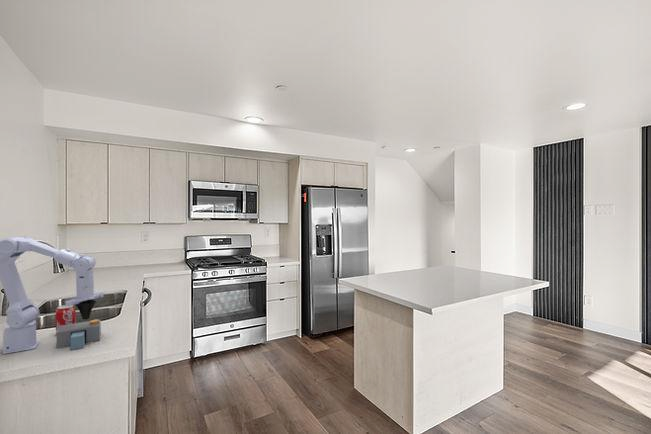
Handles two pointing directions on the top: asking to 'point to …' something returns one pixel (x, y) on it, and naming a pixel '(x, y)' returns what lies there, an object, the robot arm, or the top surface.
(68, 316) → the soda can
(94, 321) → the plunger
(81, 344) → the block
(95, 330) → the housing
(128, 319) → the top surface
